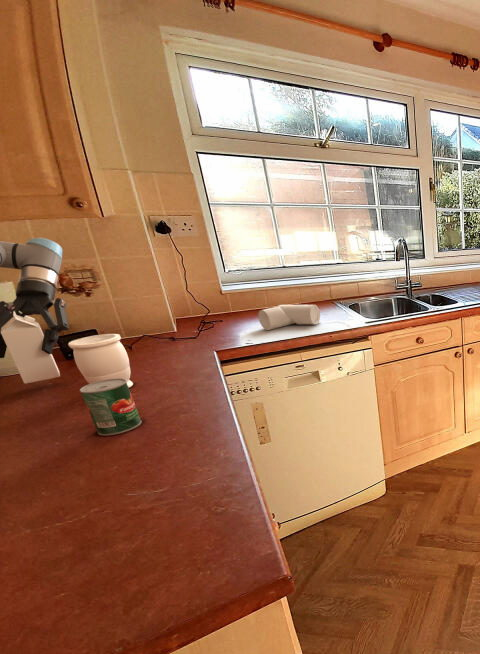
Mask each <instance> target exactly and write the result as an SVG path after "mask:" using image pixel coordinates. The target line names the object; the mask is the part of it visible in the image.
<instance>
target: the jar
mask: <svg viewBox="0 0 480 654" xmlns="http://www.w3.org/2000/svg"><path fill="white" fill-rule="evenodd" d="M121 340H122V337H121V334H119V333H105V334H95V335H90V336H86V337H81V338H76V339H73V340H71V341H69V342H68V347H69V349H71V350H72V351H73V359H74V362H75V364H76V367H77V370H79V372H80V373H81V375H82V376H83V377H84V379H85V381H86V382H87V383H88V384H91V383H94V382H98V381H102V380H108V379H116V378H120V379H125V380H126V383H127V385H128V387H129V389H130V388H131V387H132V386H133V385H134V382H133V381H131V380H130V378H131V366H130V359H129V356H128V352H127V351H126V349H125V347H124V345H123V344H122V342H121Z"/></svg>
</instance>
